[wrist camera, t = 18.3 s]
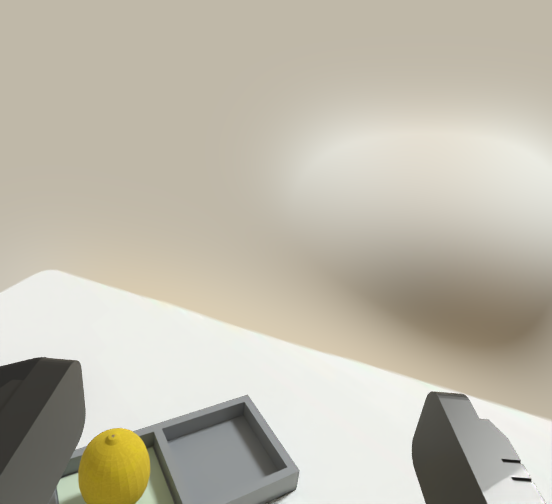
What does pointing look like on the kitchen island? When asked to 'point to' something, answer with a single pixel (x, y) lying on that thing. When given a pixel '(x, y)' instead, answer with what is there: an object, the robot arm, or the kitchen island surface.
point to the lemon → (114, 468)
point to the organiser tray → (205, 460)
